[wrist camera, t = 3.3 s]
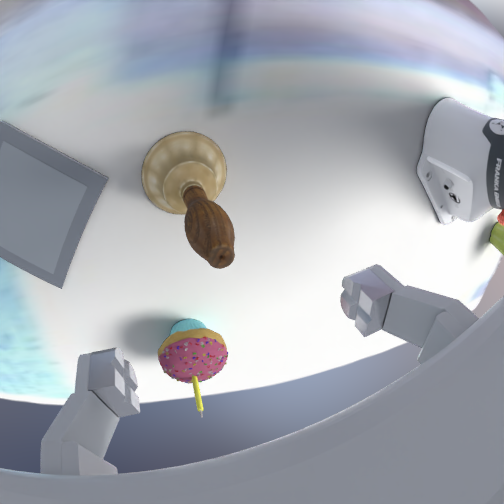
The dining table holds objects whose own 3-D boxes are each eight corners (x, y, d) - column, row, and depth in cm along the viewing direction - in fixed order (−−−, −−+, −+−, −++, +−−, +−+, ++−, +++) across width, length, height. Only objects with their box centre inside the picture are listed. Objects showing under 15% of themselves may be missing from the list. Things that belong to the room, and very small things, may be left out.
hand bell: (220, 124, 25) (296, 153, 12) (230, 203, 29) (298, 300, 16) (133, 142, 23) (100, 194, 10) (152, 222, 27) (156, 339, 14)
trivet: (108, 177, 24) (107, 179, 23) (62, 285, 27) (61, 289, 27) (2, 120, 17) (-1, 121, 16) (-28, 236, 20) (-31, 239, 19)
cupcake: (211, 353, 39) (233, 423, 30) (153, 350, 36) (162, 426, 26) (225, 308, 36) (255, 383, 26) (159, 303, 32) (169, 386, 23)
